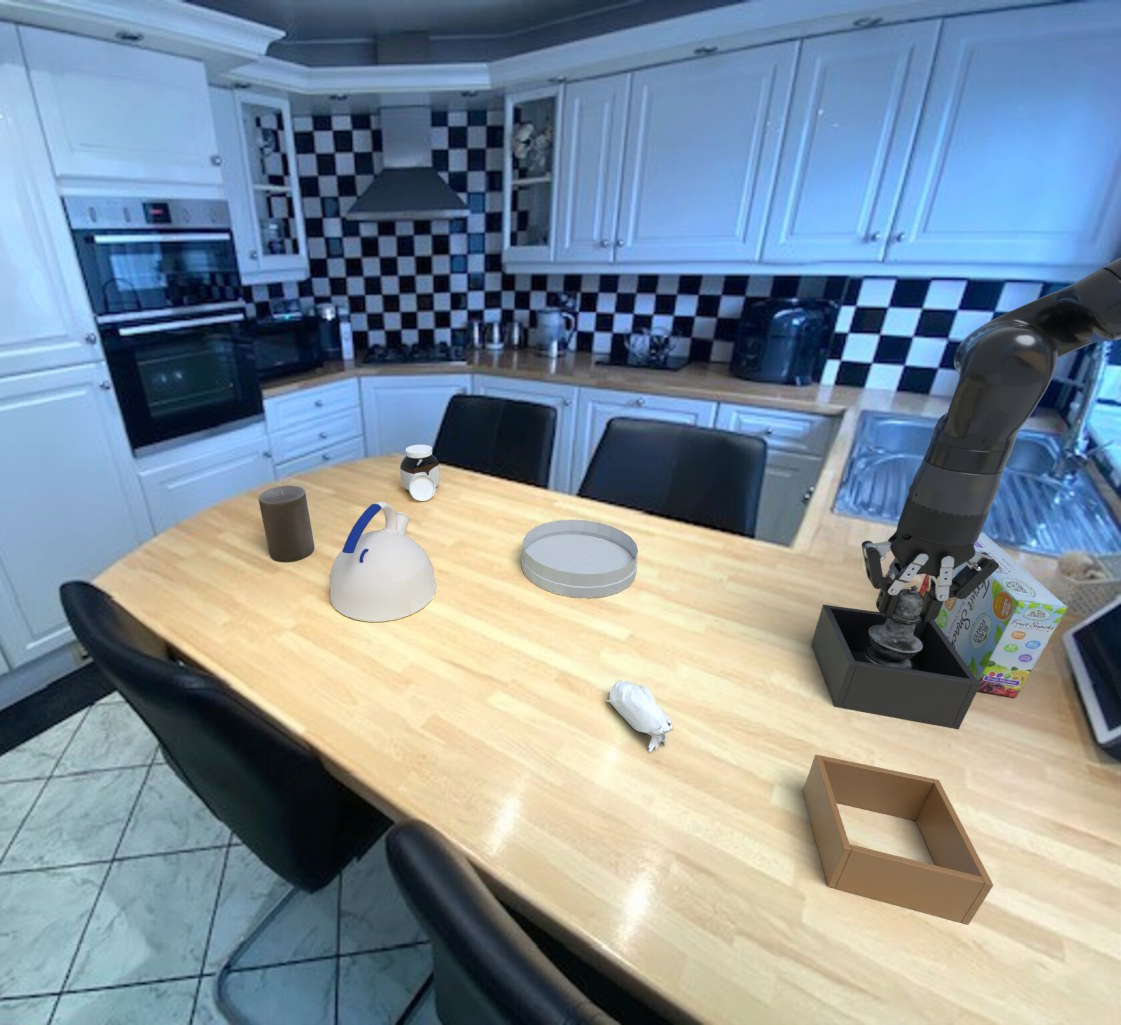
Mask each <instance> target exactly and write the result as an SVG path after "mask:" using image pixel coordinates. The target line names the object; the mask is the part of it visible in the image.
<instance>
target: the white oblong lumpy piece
mask: <svg viewBox="0 0 1121 1025" xmlns="http://www.w3.org/2000/svg"><path fill="white" fill-rule="evenodd" d="M608 695H609V698H608V699H606V700H605V702H607V703H609V704H611V705H612V707H613V708H614V709H615V710H616V711H617V712H618V714H619V715H620V716H621V717H622V718H623V719H624V720H625V721H626V722H627V723H628V724H629V725H630V726H631V728H633V730H635V731H637V732H639V733H643V734H648V735H649V736H651V739H650V742H649V743H648V747H647V748H648V751H647V752H648V753H653V751H654V748H655V751H658V747H659V746H660V744H661V742H662V743H663V746H667V745H668V743H667V742H668V741H669V738H668V736H667V733H669V734H670V733H671V732H672V731H673V730H674V728H673V725H672V724H673V720H672V719H671V718H670V717H669V716H668V715H667V714H666V713H665V711H664V710H663V709H662V708H661V707H660V706H659V704H658V703H657V701H656V699H655V697H654V695H653V692H651V690H650V689H649V688H648V687H647V686H645V685H643V684H640V685H636V684H635V683H634V682H629V681H627V680H619V681H615V682H614V684H613V685H612V687H611V689H610V691H609V694H608Z"/></svg>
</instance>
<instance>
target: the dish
mask: <svg viewBox="0 0 1121 1025" xmlns="http://www.w3.org/2000/svg"><path fill="white" fill-rule="evenodd" d="M638 554H639V550H638V546H637V543H636V542H635V540H634V539H633V538H632V536H630V535H628V533H626V532H624V530H621V529H619V528H617V527H614V526H612V525H609V524H606V523H602V522H599V521H593V520H587V519H560V520H554V521H553V520H552V521H549V522H545V523H541V524H539V525H536V526H534V527H533V528H531V529H530V530H529V531H527V533H526V534H525V536H524V537H523V541H522V550H521V567H520V568H521V569H522V572H523V575H524V576H525V577H526V578H527V579H528V580H529V581H530V583H532V584H534V585H535V586H537V587H539V588H540V589H542V590H544V591H546V592H550V593H551V594H555V595H559V596H564V597H569V598H578V599H597V598H605V597H609V596H612V595H617V594H619V593H621V592H623V591H624V590H626V589H628V588H629V587H630V586H631V585H632V584H633V583H634V582H635V579H636V576H637V571H638V565H639V564H638Z"/></svg>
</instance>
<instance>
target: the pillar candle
mask: <svg viewBox="0 0 1121 1025" xmlns="http://www.w3.org/2000/svg"><path fill="white" fill-rule="evenodd" d="M257 500H258V504H259V511H260V514H261V520H262V523H263V529H264V533H265V539H266V545H267V549H268V554H269V557H270V558H271V559H272V560H274V561H276V562H280V563H285V562H286V563H287V562H290V563H291V562H297V561H299V560H300V561H301V560H303V559H305V558H307V557H309V556H310V555H311V554H312V553H313V552H314V551H315V541H314V535H313V530H312V523H311V517H310V512H309V506H308V500H307V494H306V489H304V487H303V486H300V485H290V484H289V485H288V484H287V485H282V486H281V485H280V486H275V487H272V488H267V489H266V490H264V491H262V492H261V493H259V494H258V497H257Z"/></svg>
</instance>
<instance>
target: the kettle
mask: <svg viewBox="0 0 1121 1025" xmlns="http://www.w3.org/2000/svg"><path fill="white" fill-rule="evenodd" d="M380 511H382V512H383V514H384V519H385V520H384V522H385V524H384V526H385V527H384V528H382V529H378V530H371V531H367V532H365V533H364V531H365V529H366V528H367V527H368V525H369V524H370V522H371V521H372V520H373V518H374V517H375V516H376V515H377V514H378V513H379V512H380ZM410 521H411V518H410V516H409V514H406V513H404V512H401V511H396V510H395V508H393V506H392V505H391V504H390V503H387V502H385V501H377V502H375V503H372V504H370V505H369V506H368V507H367V508H366V509H365V510H364V511H363V513H362V514H361V515H360V516H359V518H358V519H357V521H356V522H355V523H354V525H353V526H352V528H351V530H350V532H349V534H348V535H347V538H346V540H345V542H344V545H343V548H342V549H341V551H340V552H338V553H339V554H337V556H336V557H335V559H334V562H333V564H332V567H331V571H330V573H329V600H330V604H332V606H333V609H335V610H336V611H337V612H339V613H340V614H341V615H343V616H345V617H348V618H350V619H353V620H355V621H360V622H368V623H385V622H390V621H395V620H396V621H397V620H400V619H403V618H406V617H409V616H412V615H413V614H415V613H417V612H419V611H421V610H422V609H424V608H425V607H426V606H427V605H428V604H429V603H431V601H432V600H433V599H434V596H435V595H436V593H437V586H438V584H437V582H436V576H435V570H434V565H433V563H432V561H431V559H430V557H429V555H428V554H427V552H426V550H425V549H424V548H423V547H422V546H421V545H420V544H419V543H418V542H416V541H415V540H414V539H413V538H412V537H410V536H407V535H406V533H407V529H408V526H409V522H410Z"/></svg>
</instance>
